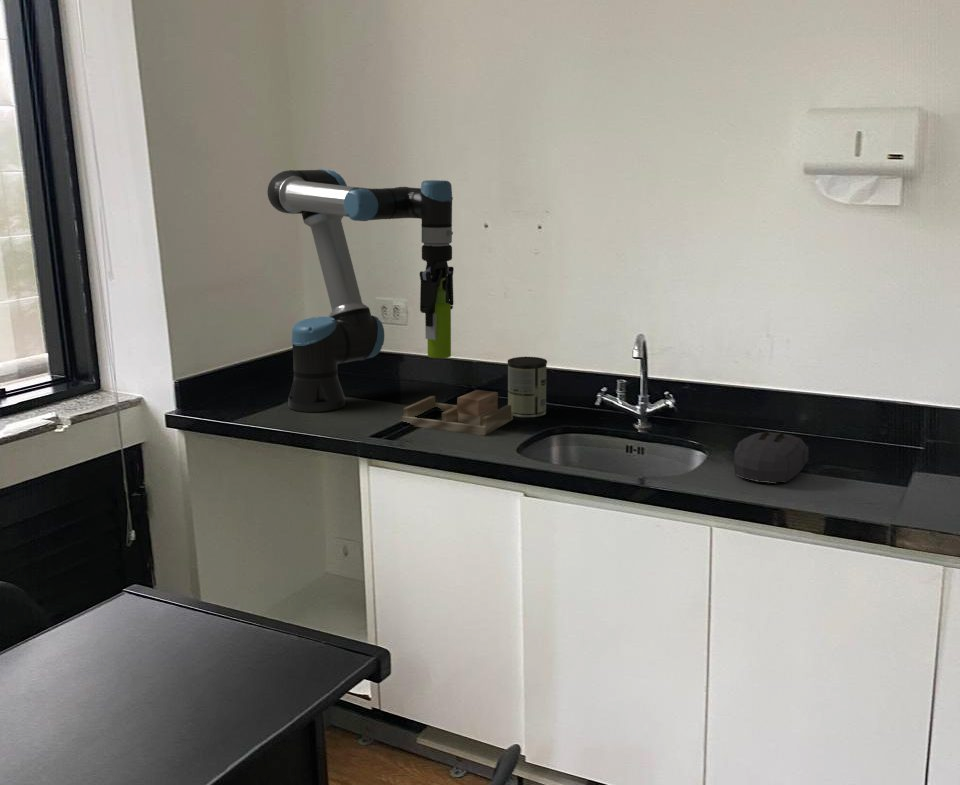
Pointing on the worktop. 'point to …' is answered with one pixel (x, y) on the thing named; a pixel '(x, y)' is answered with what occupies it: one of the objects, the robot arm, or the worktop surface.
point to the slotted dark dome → (770, 457)
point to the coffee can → (527, 386)
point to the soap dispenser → (441, 327)
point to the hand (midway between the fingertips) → (437, 336)
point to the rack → (454, 418)
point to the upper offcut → (477, 402)
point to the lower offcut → (473, 418)
